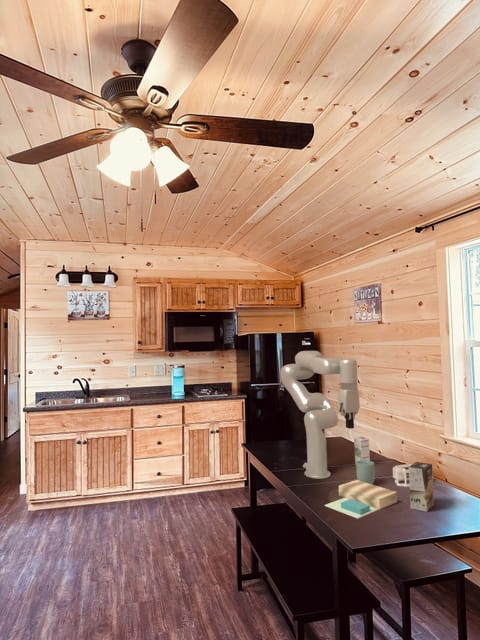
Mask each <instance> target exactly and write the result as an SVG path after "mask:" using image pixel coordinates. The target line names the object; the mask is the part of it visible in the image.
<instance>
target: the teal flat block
mask: <svg viewBox="0 0 480 640" xmlns="http://www.w3.org/2000/svg"><path fill="white" fill-rule="evenodd" d="M370 507H371V506H370V505H367V504H364V503H361V502H358V501H355V500H352V499H349V500H347V501H344V502H341V508H343V509H346V510H348V511H351V512H354V513H357V514H359V515H361V514H364V513H366V512H368V511H370Z"/></svg>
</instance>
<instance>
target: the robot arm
mask: <svg viewBox="0 0 480 640" xmlns="http://www.w3.org/2000/svg"><path fill="white" fill-rule="evenodd" d="M294 362H295V363H290V364H289V363H288V364H285V365H284V366H282V367H281V368H280V380H281V383H282V385H283V386H284V388H285V390H287V391H288V393H289V394H290V396H291V397H292V399H293V401H294V402H295V404H296V406H297V407H298V409H299V410H300V411H301V412H302V413H305V414H304V417H303V421H304V422H303V423H304V428H305V432H306V433H305V434H306V455H307V462H304V464H303V465H302V468H305V469H306V470H305V471H304V476H305V475H306V477H307V478H311V479H316V480H317V479H327V478H329V477H331V472H330V471H329V470H328V455H327V454H328V453H327V452H328V451H327V449H328V448H327V437H326V435H325V433H324V432H323V430H324V429H330V428H331V429H332V428H334V427H336V426H337V425H338V423H339V416H338V414H337V413H340V416H343V417H344V419H345V428H347V429H354V428H355V421H354V420H355V418H356V417H355V416H356V415H358V414H359V411H360V407H361V406H360V396H359V391H358V390H359V389H358V363H357V362H358V361H357V360H356V359H354V358H346V357H345V358H344V357H328V358H325V357H324V356H323V354H322V353H321V352H320V351H317V350H303V351H302V350H301V351H299V352H298V353H297V354H295V356H294ZM315 373H316V374H320V375H327V376H328V375H329V376H330V375H331V376H332V375H339V390H338V395H337V397H338V398H337V411H338V412H336V410H335V408H334V407H333V406H332V404H331V402H330V401H329V400H328V398H327V396H326V395H324V394H323V393H320V392H313V393H312V392H309V391H308V389H307V387H306V386H305V385H304V384H303V383H301V382H300V381H298V380H308V379H310V378H311V377H313V376H314V374H315Z"/></svg>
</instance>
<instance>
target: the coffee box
mask: <svg viewBox="0 0 480 640" xmlns="http://www.w3.org/2000/svg"><path fill="white" fill-rule="evenodd" d="M411 464H412V465H411V466H409V467H408V470H409V473H408V478H410V480H409V484H410V487H409V499H410V503H409V504H410V506H409V507H410V509H412V510H416V511H420V512H425V513H427V512H428V511H429V510H430V509H431V508H432V507H433V506H434V503H435V502H434V483H433V481H434V475H433V476H432V471H433V467H432V465H433V464H432V463H426V462H418V461H416V462H414V463H411Z"/></svg>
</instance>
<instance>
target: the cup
mask: <svg viewBox="0 0 480 640" xmlns="http://www.w3.org/2000/svg"><path fill="white" fill-rule="evenodd" d="M355 468H356V471H355V472H356V477H357V479H356V480H358V481H362V482H365V483H368V484H372V485H374V482H375V469H376V468H375V462H374V461H371V460H370V461H369V460H359V461H357V462H356V465H355Z"/></svg>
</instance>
